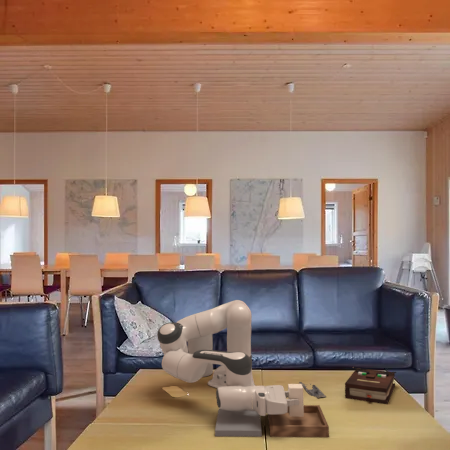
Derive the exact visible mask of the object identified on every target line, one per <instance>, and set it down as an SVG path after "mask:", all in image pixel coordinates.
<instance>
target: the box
mask: <svg viewBox="0 0 450 450" xmlns="http://www.w3.org/2000/svg"><path fill="white" fill-rule="evenodd" d="M267 419H268V420H267V422H268V427H269V428H268V429H269V437H271V438H273V437H275V438H276V437H281V438H282V437H283V438H284V437H285V438H286V437H287V438H291V437H292V438H293V437H295V438H301V437H302V438H330V426H329V424H328V421H327V420H326V418H325V414H324V412H323V411H322V408H321V406H320V404H318V405H317V404H316V405H315V404H312V405H311V404H309V405H308V404H306V405H304V417H297V416H289V411H288V412H287V413H285V414H273V415H271V414H267Z"/></svg>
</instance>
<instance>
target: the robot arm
mask: <svg viewBox="0 0 450 450" xmlns="http://www.w3.org/2000/svg"><path fill="white" fill-rule="evenodd" d="M252 320H253V319H252V311H251V309H250V308H249V306H248V305H247V304H246V303H245V301H242V300H239V299H235V300H232V301H229V302H226V303H223V304H221V305H220V304H219V305H218V306H216V307H213V308H210V309H207V310H203V311H201V312H197V313H193V314H191V315H187V316H185V317H184V318H181V319H179V320H177V321H176V322H166V323H164V324H163V325H161V326H160V327H159V328H158V330H157V333H156V334H157V335H156V336H157V341H158V342H159V346H160V349H161V351H162V353H163V357H162V360H161V368H162V370H163V371H164V372H165V373H167V374H168V375H170V376H171V377H174V378H176V379H178V380H181V381H183V382H186V383H196V382H199V380H200V379H202V378H203V377H202V376H203V375H204V373H205V371H206V368H207V365H208V363H211V364H213V365H220V366H218V367H217V368H215V369H214V370H213V373H212V379H210V380H208V381H207V385H208V386H210V387H212V388H216V392H215V396H216V405H217V407H218V410H219V409H222V410H227V411H243V410H249V411H256V412H257V413H258V414H259V415H260V417H261V416H262V417H266V415H268V414H271V415H273V414H285V413H287V412H288V406H293V405H299V399H296V398H294V399H291V400H289V399H288V390H285V388H284V386H283V385H281V384H273V385H255V381H254V377H253V369H252V368H253V367H252V366H253V356H252V346H251V345H252V343H251V342H252V341H251V339H252V338H251V337H252ZM225 329H226V349H227V350H226V351H223V350H222V351H221V350H198V351H196V352H194V354H189V350H188V341H189V340H192V339H197V338H201V337H204V336H207V335H211V334H212V335H214V334H217V333H220V332H221V331H223V330H225Z"/></svg>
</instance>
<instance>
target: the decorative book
mask: <svg viewBox="0 0 450 450" xmlns="http://www.w3.org/2000/svg"><path fill="white" fill-rule="evenodd" d="M352 369H354V371H353V372H352V374H351V375H350V376H349V378H348V379H347V380H346V381H345V383H344V394H345V395H344V398H345V399H349V400H355V401H360V402H361V401H362V402H368V403H376V404H382V405H388V403H389V401H390V399H391V397H390V396H392V394H393V391H394V389H395V387H396V383H394V380H395V375H396V374H397V372H396V371H386V370H378V369H369V368H360V367H354V366H353V367H352Z"/></svg>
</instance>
